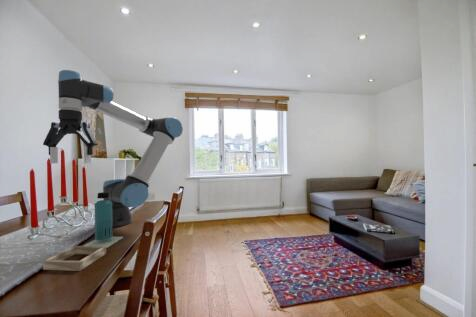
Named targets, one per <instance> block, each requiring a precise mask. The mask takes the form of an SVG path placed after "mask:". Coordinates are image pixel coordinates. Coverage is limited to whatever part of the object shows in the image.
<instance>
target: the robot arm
mask: <svg viewBox="0 0 476 317" xmlns="http://www.w3.org/2000/svg"><path fill="white" fill-rule="evenodd" d="M57 85H58V86H57V87H58V109H59V110H58V119H59V122H54V121H52V122H51V123H50V129H49V130H48V132H47V134H46V137H45V139H44V140H43V143H42V145H43V146H46V147H48V155H49V164H59V163H58V162H59V159H58V157H59V156H58V154H59V149H58V147H57V146H58V144H59V143H60V142H61V141H62V139H63V138H64V137H65V136H67V135H72V134H73V135H76V136H78V138H79V139H80V140H81V142H82V143H83V144H84V145H85V146H84V147H83V150H84V151H83V158H84V163H83V164H91V163H92V155H93V153H94V152H93V149H94V148H93V147H95V146H98V145H99V143H98V141H97V139H96V138H95V136H94V133H93V131H92V129H91V125H90V123H89V122H85V121H83V107H85V108H86V107H87V108H89V109H91V110H94V111H97V112H98V113H101V114H103V115H105V116H108V117H110V118H113V119H115V120H116V121H119V122H122V123H124V124H125V125H128V126H131V127H134V128H135V129H138V131H139V132H141V133H143V134H146V135H147V136H150V137H153V138H152V140H151V141H150V143H149V144H148V147H147V148H146V149H145V151H144V154H143V155H142V156H141V158H140V160H139V161H138V164H137V165H136V166H135V169H133V171H132V173H131V174H128V175H126V176H125V178H117V179H110V180H109V179H108V180H105V181H104V182H103V187H102V190H103V191H102V192H109V197H108V198H102V200H110V201H111V202H112V211H113V213H112V225H113V228H115V227H116V228H117V227H121V226H125V225H129V224H131V223H132V222H133V215H132V213H131V210H130V208H137V207H140V206H142V205H143V204H145V202H146V201H147V199H148V198H149V187H150V184H149V180H150V178H151V177H152V175H153V173H154V171H155V169H156V168H157V166H158V164H159V162H160V160H161V159H162V157H163V155H164V153H165V152H166V149H167V148H168V146H169V145H171V144H173V143H174V141H175V139H176V138H179V137H180V136H181V135H182V134H183V126H182V122H181V120H180V119H178V117H174V116H167V117H164V118H163V117H162V118H151V117H149V116H143V115H140V114H138V113H136V112H135V111H132V110H130V109H129V108H127V107H124V106H122V105H120V104H118V103H116V102H114V101H113V100H114V96H115V94H114V90H113V88H112V87H111V86H107V85H105V84H100V83H97V82H96V83H95V82H92V81H88V80H84V79H83V76H82V74H81V73H80V72H77V71H74V70H72V69H71V70H69V69H62V70H60V71H59V72H58V80H57ZM82 121H83V122H82ZM81 128H82V129H83V130H82V129H81Z"/></svg>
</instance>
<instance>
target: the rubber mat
mask: <svg viewBox="0 0 476 317" xmlns="http://www.w3.org/2000/svg"><path fill="white" fill-rule="evenodd" d="M122 239H124V236H112V238H110V239H107V240H100V241H99V240H95V239H94V240H91V241H89V242H87V243H85V244H83V246H103V247H106V249H107V248H109V247H111V246H112V245H114V244H115V243H118V242H119V241H120V240H122Z"/></svg>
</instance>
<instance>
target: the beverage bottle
mask: <svg viewBox="0 0 476 317" xmlns="http://www.w3.org/2000/svg"><path fill="white" fill-rule="evenodd" d="M96 197H97V199H102V200H98V201H96V202H95V203H94V204H93V206H94V226H93V227H94V232H93V234H94V240H99V241H100V240H107V239H110V238H112V237H114V236H113V235H114V229H113V228H114V227H113V225H112V213H113V211H112V202H111V201H110V200H103V198H108V197H109V192H103V191H102V192H101V191H100V192H98V193H97V196H96Z"/></svg>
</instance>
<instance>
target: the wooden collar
mask: <svg viewBox="0 0 476 317" xmlns="http://www.w3.org/2000/svg"><path fill="white" fill-rule="evenodd" d="M106 254H107V248H106V247H103V246H84V245H73V246H72V247H69V248H68V249H65V250H64V251H62V252H60V253H58V254H55V255H53V256H52V257H49V258H48V259H45V260H44V261H42V270H44V271H45V270H46V271H76V272H77V271H79V272H80V271H82V270H83V269H86V267H88V266H89V265H91V264H93V263H94V262H95V261H97V260H99V259H100V258H102V257H103V256H105V255H106ZM74 255H87V256H85V257H83V258H82V259H80V260H67V259H68V258H70V257H72V256H74Z"/></svg>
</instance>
